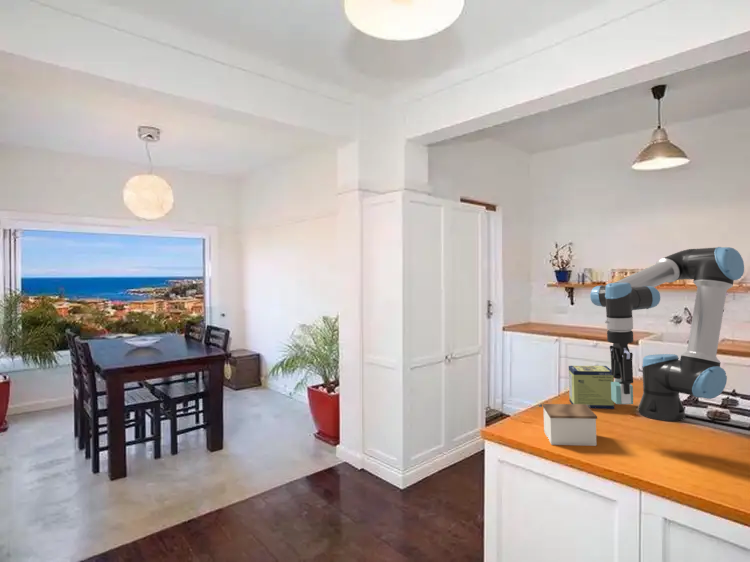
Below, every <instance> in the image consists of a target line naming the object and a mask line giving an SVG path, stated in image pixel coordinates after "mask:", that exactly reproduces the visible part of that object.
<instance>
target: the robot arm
mask: <svg viewBox="0 0 750 562" xmlns="http://www.w3.org/2000/svg"><path fill="white" fill-rule="evenodd" d="M744 273H745V263H744V259H743V257H742V254H741V253H740V252H739V251H738V250H737V249H735V248H733V247H727V246H725V247H722V246H717V247H705V248H688V249H685V250H684V249H683V250H680V251H677V252H675V253H672V254H670V255H667V256H665V257H663V258H660V259H658V260H657V261H656V263H654V264H653V265H651V266H649V267H646V268H644V269H641V270H640V271H637V272H635V273H633V274H630V275H628V276H626V277H624V278H620V279H619V280H617V281H614V282H611V283H607V284H606V285H596V286H594V287H592V289H591V291H590V293H589V294H590V295H589V297H590V301H591V303H592V304H593V305H594V306H596V307H602V308H605V313H606V320H605V321H604V323H605V324H606V329H607V331H606V338H607V342H608V343H610V344H612V345H609V351H610V369H611V374H612V375H613V377H614V382H619V384H620V386H621V403H622V404H621V405H632V404H631V389H630V384H631V385H632V384H634V371H633V370H634V369H633V367H634V366H633V356H634V354H633V352H630V348H629V344H632V343H634V331H633V329H634V320H633V319H634V318H633V311H636V310H637V311H638V310H649V309H651V308H655V307H657V306H658V305H659V304H660V301H661V293H660V291H659V290H658V288H656V287H658V286H661V285H662V284H665V283H673V282H675V281H680V280H681V281H682V280H692V281H693V284H694V285H695V286H696V287H697V288H696V295H695V300H694V305H693V306H694V307H693V313H692V319H691V325H690V331H689V336H688V342H687V348H686V352H684V353H682V354H681V355H680V359H679V355H677V354H673V353H672V354H671V353H669V354H668V353H662V354H661V353H658V354H657V353H655V354H649V355H645V356H644V357H643V358H642V368H641V369H642V389H643V390H642V391H643V393H642V397H641V399H640V402H639V404H638V413H639V414H640V415H641V416H642V417H645V418H648V419H653V420H659V421H667V422H669V421H670V422H671V421H672V422H673V421H675V422H676V421H682V420H684V419H685V418H686V411H685V408H684V405H683V404H682V400H681V397H680V394H684V395H687V396H688V395H689V396H693V397H695V398H701V399H706V400H711V399H714V398H717V397H718V396H720V395H721V394H722V393H723V392H724V390H725V388H726V385H727V380H728V375H727V373H726V371H725V369H724V368H722V367H721V361H720V360H719V359H718V357H717V354H718V347H719V341H720V336H721V335H720V334H721V329H722V328H721V327H722V321H723V317H724V310H725V304H726V303H725V302H726V296H727V291H728V290H729V289H730V290H731V288H733V286H734V282H735V281H737V280H740V279H741V278H742V277H743V275H744ZM684 417H685V418H684ZM683 418H684V419H683ZM681 419H682V420H681Z"/></svg>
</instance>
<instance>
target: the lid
mask: <svg viewBox="0 0 750 562" xmlns="http://www.w3.org/2000/svg"><path fill="white" fill-rule="evenodd" d="M543 407H544V409H545V410H546V412H547V414H548V415H549V417H550V418H581V419H596V420H597V419H598V416H597V414H595V412H594V411H593V410H592V408H589V407H588V406H587V405H586V404H571V403H570V404H569V403H542V408H543Z"/></svg>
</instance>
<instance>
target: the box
mask: <svg viewBox="0 0 750 562" xmlns="http://www.w3.org/2000/svg"><path fill="white" fill-rule="evenodd" d="M587 406H588V407H590V405H587ZM538 407H539V408H543V432H544V434H545V436H546V438H547V437H548V438H547V439H549V440H548V442H549V443H550V444H551V445H552V446H553V445H554V446H593V447H594V446H595V447H597V423H596V422H597V419H581V418H550V417H549V415H548V414H547V412H546V410H545V409H544V407H543V403H541V404H540V403H539V404H538Z"/></svg>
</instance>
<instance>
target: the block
mask: <svg viewBox="0 0 750 562" xmlns="http://www.w3.org/2000/svg"><path fill="white" fill-rule="evenodd" d="M630 389H631V404H630V405H634V386H633V384H632V383H631V384H630ZM611 400H612V401H614V404H616V405H623V404H622V403H621V386H620V384H619V382H611Z"/></svg>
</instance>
